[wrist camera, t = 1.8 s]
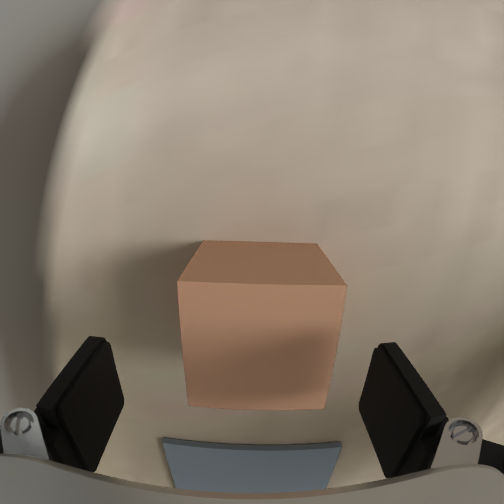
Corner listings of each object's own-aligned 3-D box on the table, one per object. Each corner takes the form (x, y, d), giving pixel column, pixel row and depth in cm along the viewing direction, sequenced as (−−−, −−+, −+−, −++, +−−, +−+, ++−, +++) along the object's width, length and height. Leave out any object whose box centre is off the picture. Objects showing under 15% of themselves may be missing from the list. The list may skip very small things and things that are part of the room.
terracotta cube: (316, 243, 17) (346, 285, 11) (306, 340, 18) (324, 408, 12) (203, 240, 17) (176, 281, 11) (206, 338, 18) (188, 405, 12)
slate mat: (340, 441, 21) (341, 446, 20) (312, 511, 25) (313, 515, 24) (163, 437, 21) (162, 442, 20) (185, 508, 25) (184, 512, 24)
